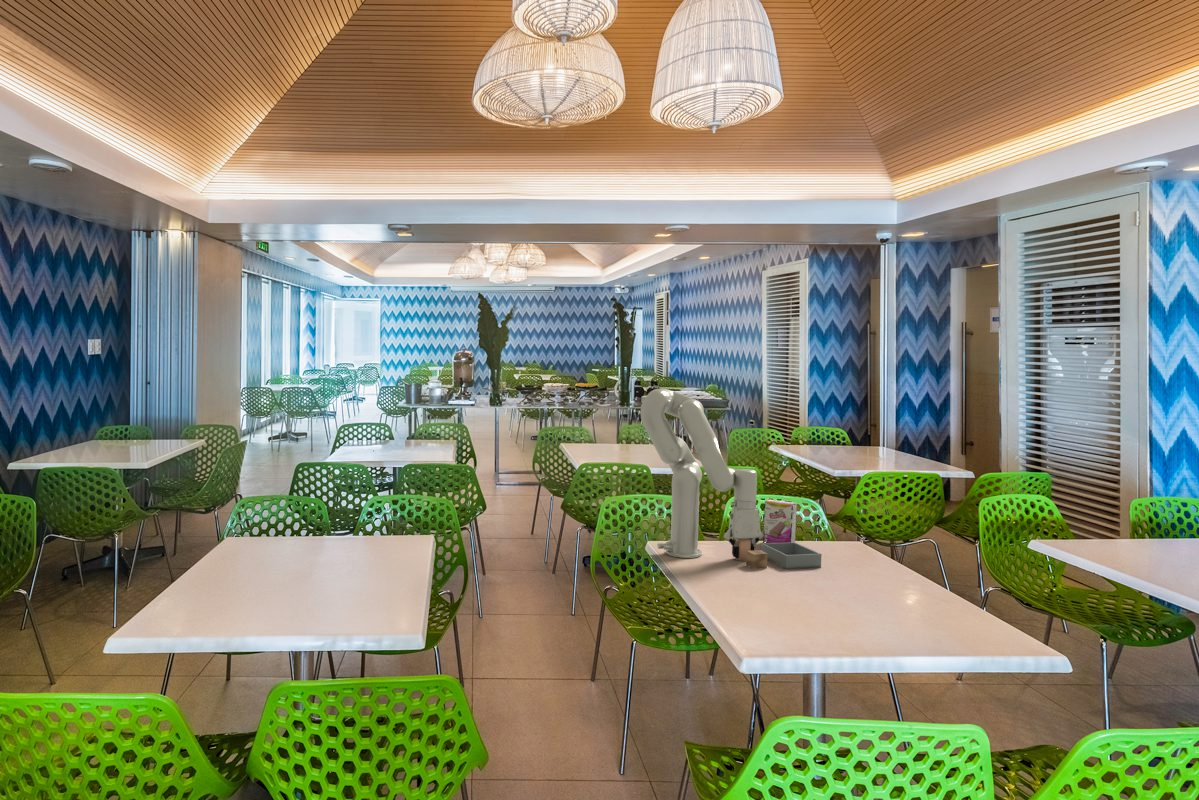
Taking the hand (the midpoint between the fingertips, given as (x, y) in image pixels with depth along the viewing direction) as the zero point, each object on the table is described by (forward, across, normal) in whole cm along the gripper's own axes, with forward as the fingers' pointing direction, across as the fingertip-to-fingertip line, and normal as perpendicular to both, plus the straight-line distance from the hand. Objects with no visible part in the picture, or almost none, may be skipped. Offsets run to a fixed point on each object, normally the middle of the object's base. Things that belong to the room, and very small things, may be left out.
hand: (743, 556), depth 262 cm
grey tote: (+1, +15, -6) cm, 16 cm away
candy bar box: (+1, +24, +18) cm, 30 cm away
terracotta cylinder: (+1, 0, 0) cm, 1 cm away
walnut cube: (+1, 0, -10) cm, 10 cm away
